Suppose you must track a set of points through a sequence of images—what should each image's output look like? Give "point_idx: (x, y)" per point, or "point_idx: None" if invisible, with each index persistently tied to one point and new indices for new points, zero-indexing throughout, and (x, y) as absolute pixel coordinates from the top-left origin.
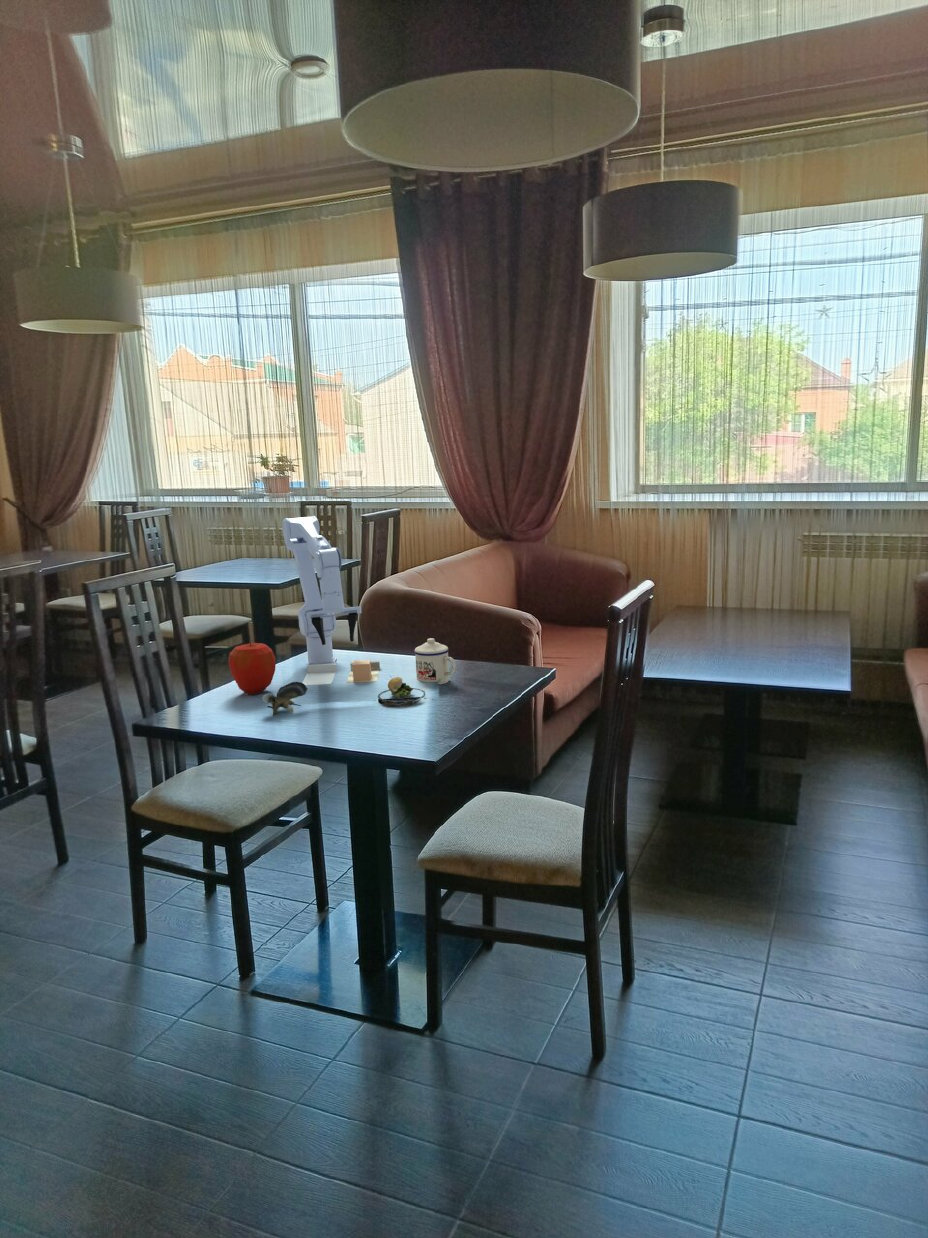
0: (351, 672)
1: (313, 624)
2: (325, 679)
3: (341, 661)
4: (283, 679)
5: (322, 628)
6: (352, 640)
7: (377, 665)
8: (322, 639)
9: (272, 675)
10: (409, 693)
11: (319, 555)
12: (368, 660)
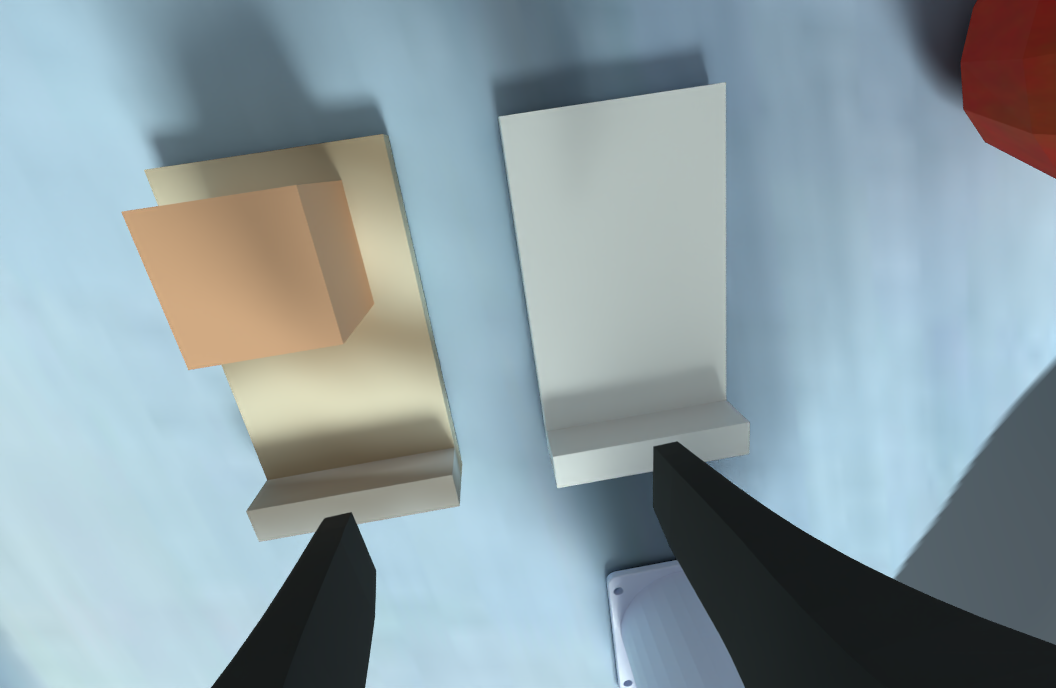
0: (436, 408)
1: (1009, 632)
2: (573, 242)
3: (585, 663)
4: (852, 349)
5: (767, 658)
6: (321, 525)
7: (268, 493)
8: (699, 475)
9: (1017, 2)
10: None
11: None
12: (194, 342)
